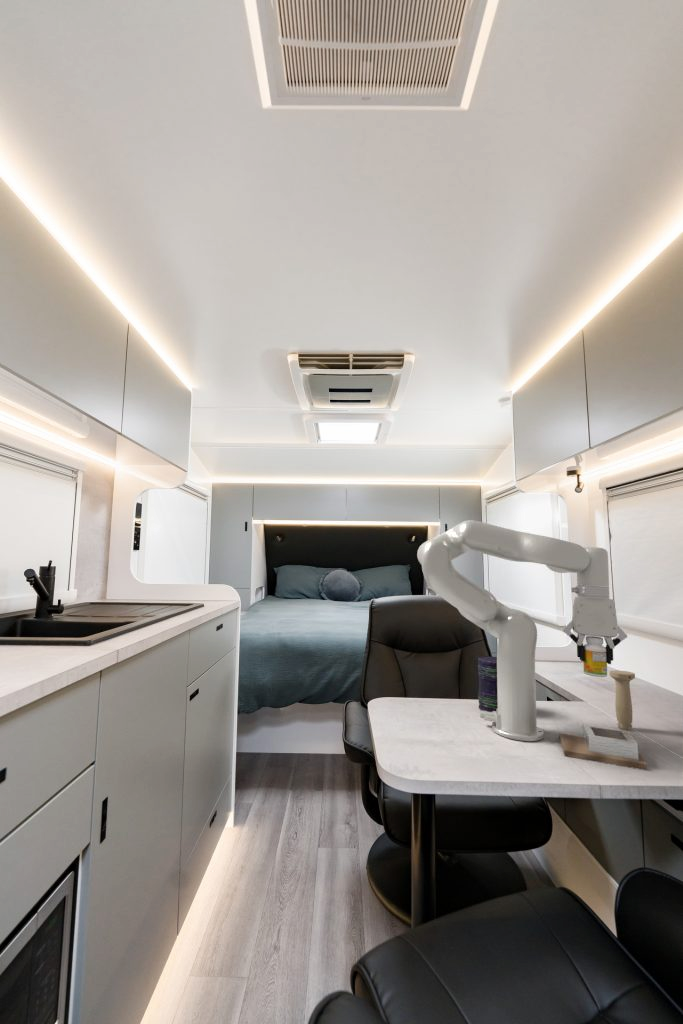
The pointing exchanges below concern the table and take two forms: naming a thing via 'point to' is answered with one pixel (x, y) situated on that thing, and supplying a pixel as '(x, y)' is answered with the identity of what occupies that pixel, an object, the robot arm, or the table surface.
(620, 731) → the socket
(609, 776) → the table surface
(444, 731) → the table surface
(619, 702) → the handle
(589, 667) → the supplement bottle
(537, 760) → the table surface
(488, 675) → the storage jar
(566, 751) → the mount plate
